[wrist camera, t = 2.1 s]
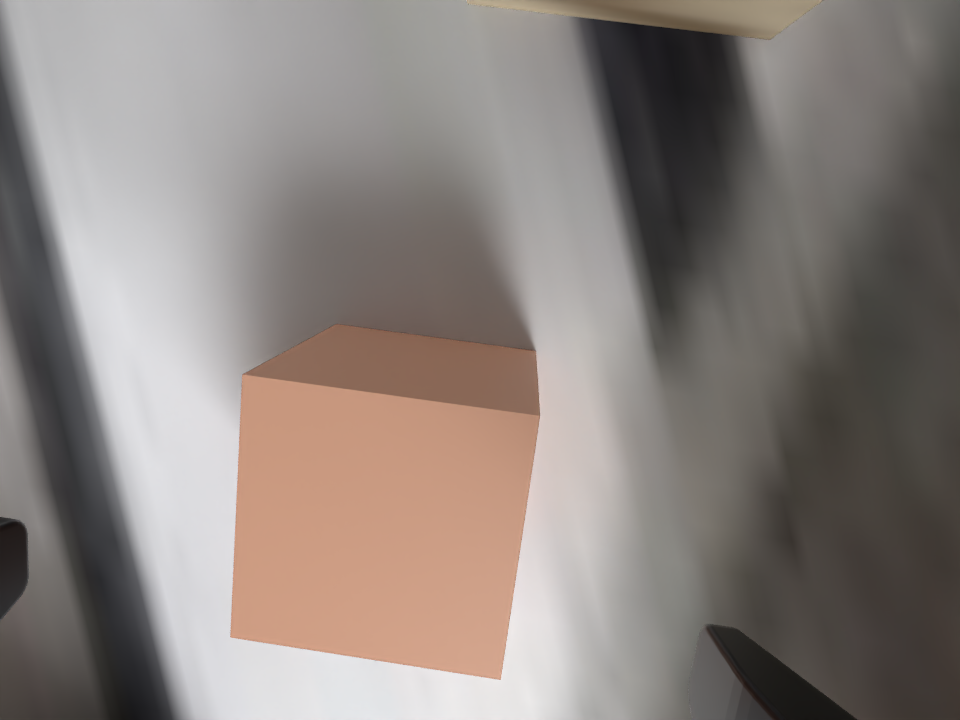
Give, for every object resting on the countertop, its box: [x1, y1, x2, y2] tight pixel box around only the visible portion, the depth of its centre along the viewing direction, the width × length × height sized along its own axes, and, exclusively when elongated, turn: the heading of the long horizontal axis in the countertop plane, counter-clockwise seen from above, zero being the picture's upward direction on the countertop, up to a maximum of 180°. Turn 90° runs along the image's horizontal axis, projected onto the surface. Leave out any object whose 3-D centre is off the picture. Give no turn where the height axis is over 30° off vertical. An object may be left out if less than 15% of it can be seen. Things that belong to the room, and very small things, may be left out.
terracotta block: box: [230, 324, 540, 680], centre depth 13 cm, size 4×4×5 cm
